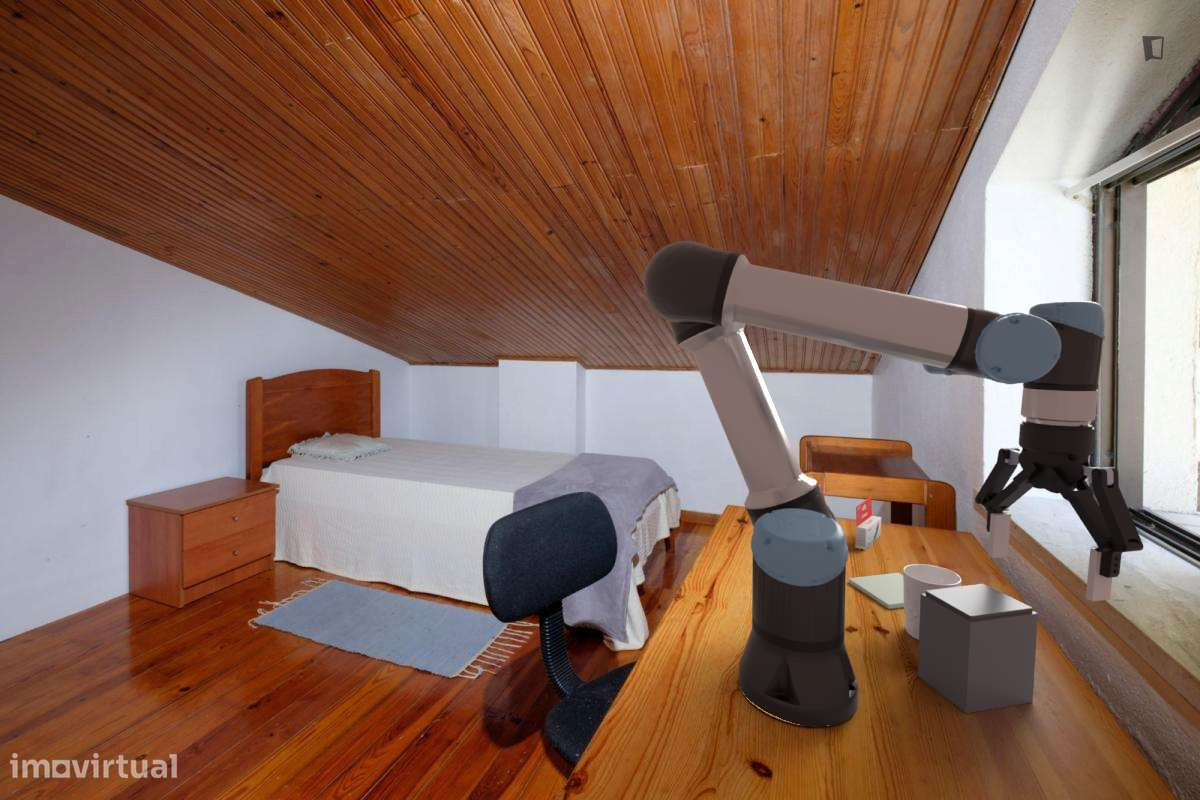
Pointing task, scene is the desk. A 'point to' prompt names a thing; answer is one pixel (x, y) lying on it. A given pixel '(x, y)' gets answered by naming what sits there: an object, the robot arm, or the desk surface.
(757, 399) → the robot arm
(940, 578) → the white cup
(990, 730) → the desk surface
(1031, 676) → the block
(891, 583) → the coaster
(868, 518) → the ink cartridge box
